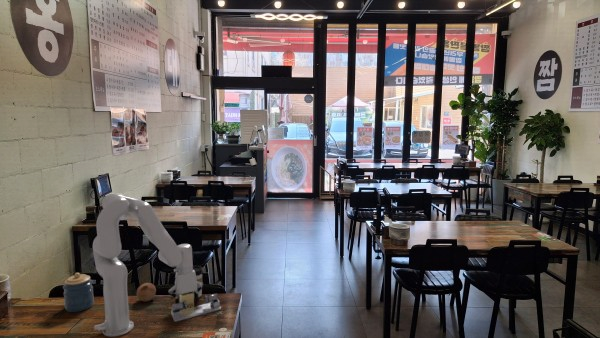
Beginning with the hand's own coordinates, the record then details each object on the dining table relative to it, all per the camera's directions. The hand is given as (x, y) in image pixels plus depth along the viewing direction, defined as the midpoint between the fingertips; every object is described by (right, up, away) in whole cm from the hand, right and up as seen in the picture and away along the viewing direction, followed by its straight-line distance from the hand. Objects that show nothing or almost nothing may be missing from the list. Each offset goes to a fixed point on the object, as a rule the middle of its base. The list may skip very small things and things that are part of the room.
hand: (186, 302), depth 195 cm
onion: (-23, -1, +7) cm, 24 cm away
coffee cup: (+1, 0, +11) cm, 12 cm away
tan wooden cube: (0, -2, 0) cm, 2 cm away
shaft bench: (+6, -2, -7) cm, 9 cm away
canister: (-54, -3, +2) cm, 54 cm away
